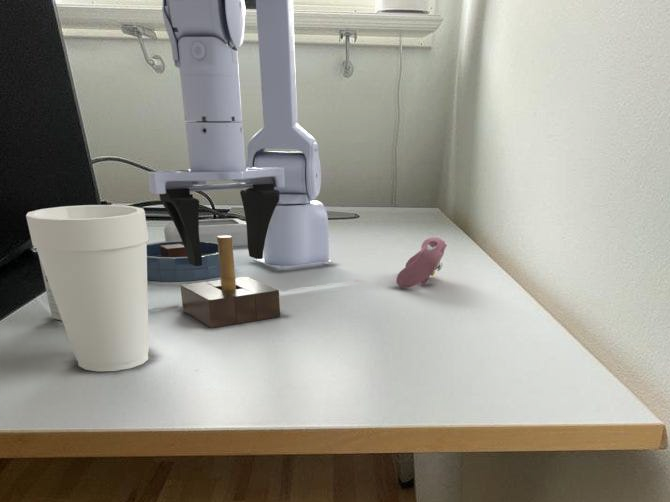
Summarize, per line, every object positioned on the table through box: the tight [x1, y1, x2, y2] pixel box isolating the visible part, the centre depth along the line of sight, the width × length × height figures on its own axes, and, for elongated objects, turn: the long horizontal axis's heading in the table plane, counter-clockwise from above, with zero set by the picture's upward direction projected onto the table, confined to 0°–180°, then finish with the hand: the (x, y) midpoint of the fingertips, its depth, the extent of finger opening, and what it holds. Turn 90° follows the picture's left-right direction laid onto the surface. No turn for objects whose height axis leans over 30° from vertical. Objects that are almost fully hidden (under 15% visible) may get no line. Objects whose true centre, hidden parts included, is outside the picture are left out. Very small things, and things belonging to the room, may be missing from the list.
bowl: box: [147, 241, 221, 282], centre depth 94 cm, size 14×14×4 cm
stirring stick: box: [217, 235, 236, 291], centre depth 74 cm, size 2×2×8 cm
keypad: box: [163, 218, 248, 247], centre depth 114 cm, size 10×4×15 cm
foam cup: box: [25, 204, 150, 373], centre depth 59 cm, size 10×9×13 cm
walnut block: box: [160, 244, 187, 257], centre depth 95 cm, size 3×3×3 cm
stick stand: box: [179, 276, 281, 329], centre depth 76 cm, size 8×8×3 cm
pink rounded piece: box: [395, 237, 448, 289], centre depth 90 cm, size 10×5×7 cm, turn 168°
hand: (226, 260), depth 73 cm, fingers open, 7 cm apart
